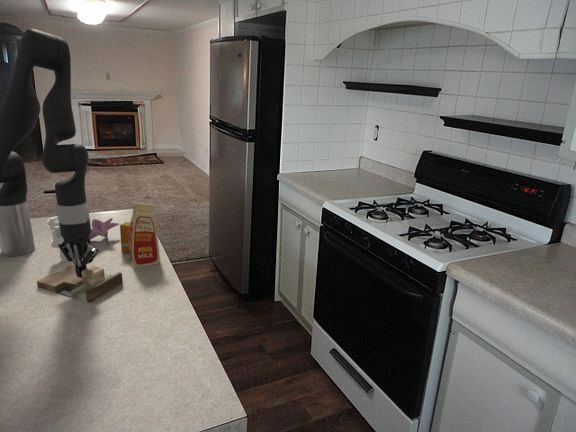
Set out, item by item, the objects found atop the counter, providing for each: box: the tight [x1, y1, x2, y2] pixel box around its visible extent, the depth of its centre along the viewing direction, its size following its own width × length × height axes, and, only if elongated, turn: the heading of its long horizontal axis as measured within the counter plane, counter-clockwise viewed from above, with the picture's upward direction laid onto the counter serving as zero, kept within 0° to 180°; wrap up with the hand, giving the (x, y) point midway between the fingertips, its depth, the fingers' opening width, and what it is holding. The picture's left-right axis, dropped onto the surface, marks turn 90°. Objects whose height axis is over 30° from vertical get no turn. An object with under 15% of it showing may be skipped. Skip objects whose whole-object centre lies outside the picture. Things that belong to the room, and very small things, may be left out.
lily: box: [89, 217, 120, 246], centre depth 151 cm, size 12×12×10 cm
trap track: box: [36, 264, 124, 304], centre depth 121 cm, size 20×12×4 cm, turn 67°
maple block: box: [81, 265, 105, 287], centre depth 118 cm, size 4×4×4 cm
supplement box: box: [119, 221, 131, 254], centre depth 144 cm, size 3×3×10 cm
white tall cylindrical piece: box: [47, 215, 69, 262], centre depth 135 cm, size 7×7×15 cm
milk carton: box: [129, 202, 161, 269], centre depth 136 cm, size 9×9×20 cm
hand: (82, 276), depth 120 cm, fingers closed
